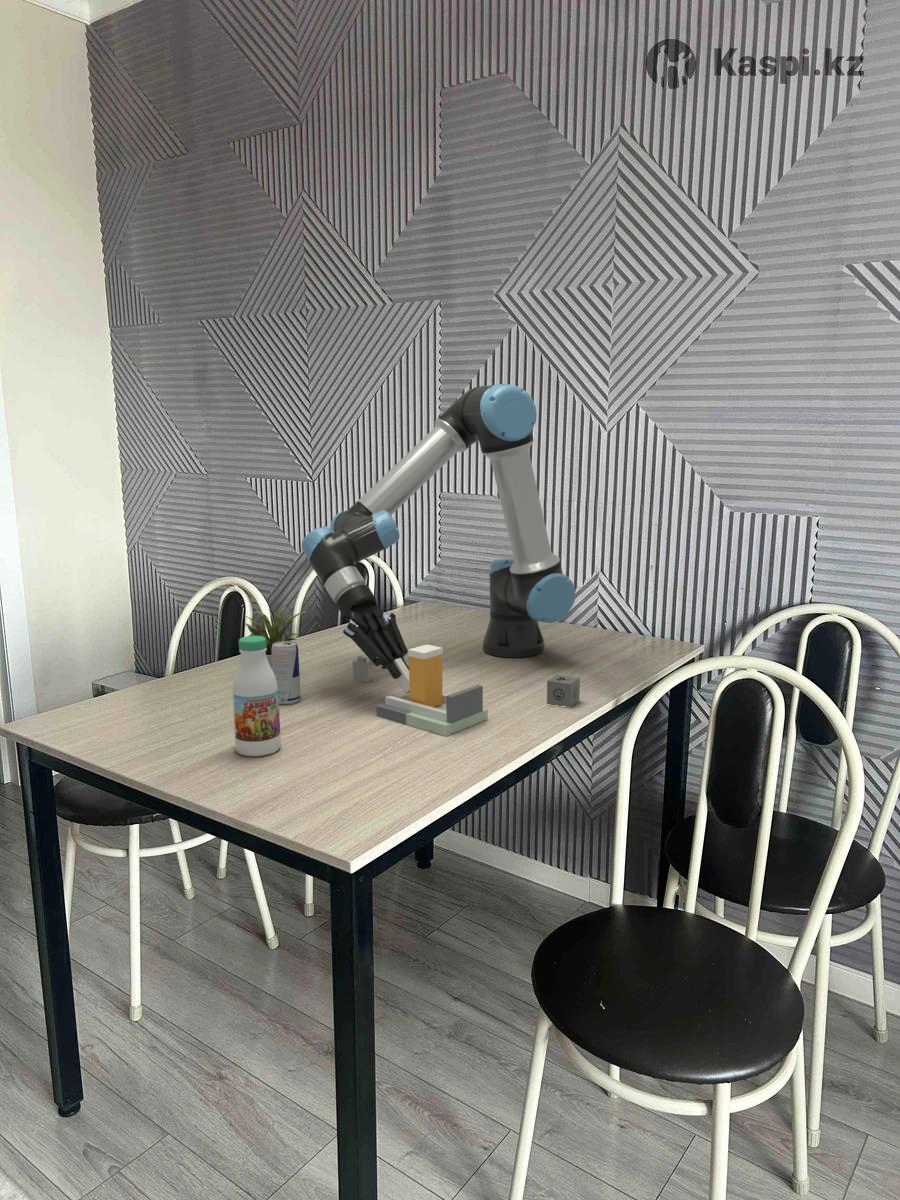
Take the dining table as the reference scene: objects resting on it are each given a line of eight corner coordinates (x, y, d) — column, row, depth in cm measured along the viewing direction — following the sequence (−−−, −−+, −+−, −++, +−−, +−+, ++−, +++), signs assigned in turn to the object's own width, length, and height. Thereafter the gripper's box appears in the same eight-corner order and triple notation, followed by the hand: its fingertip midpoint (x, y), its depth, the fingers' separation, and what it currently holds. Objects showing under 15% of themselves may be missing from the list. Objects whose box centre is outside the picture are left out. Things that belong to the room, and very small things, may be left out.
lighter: (352, 679, 196) (351, 644, 194) (357, 677, 198) (355, 642, 196) (380, 683, 193) (379, 648, 191) (384, 681, 194) (383, 646, 193)
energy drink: (304, 697, 184) (302, 641, 181) (293, 705, 178) (290, 647, 176) (281, 695, 185) (278, 640, 183) (269, 703, 180) (266, 646, 178)
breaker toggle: (409, 706, 170) (407, 649, 168) (427, 699, 174) (426, 644, 172) (425, 710, 168) (424, 653, 166) (443, 704, 172) (442, 647, 169)
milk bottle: (227, 749, 155) (220, 638, 151) (265, 738, 160) (259, 630, 156) (251, 761, 149) (244, 646, 145) (289, 749, 155) (284, 637, 151)
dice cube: (556, 698, 182) (556, 674, 181) (579, 701, 180) (579, 677, 179) (546, 704, 178) (547, 680, 177) (570, 708, 175) (570, 684, 174)
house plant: (304, 665, 208) (301, 597, 204) (317, 681, 195) (314, 608, 192) (242, 672, 203) (238, 602, 199) (252, 689, 190) (247, 614, 187)
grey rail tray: (376, 715, 172) (375, 680, 171) (418, 700, 181) (418, 667, 179) (446, 736, 160) (445, 699, 159) (487, 719, 169) (487, 684, 168)
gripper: (366, 600, 187) (424, 692, 179) (318, 610, 177) (377, 708, 170) (383, 578, 182) (444, 671, 175) (334, 587, 173) (397, 686, 165)
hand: (411, 689), depth 172 cm, fingers closed
